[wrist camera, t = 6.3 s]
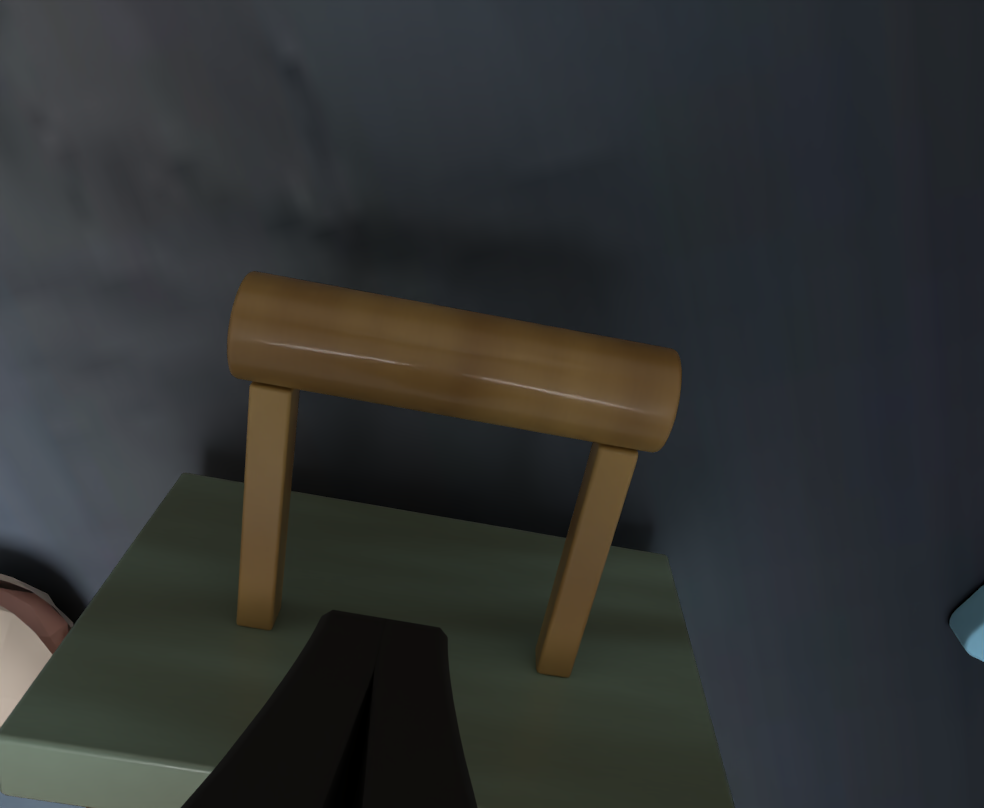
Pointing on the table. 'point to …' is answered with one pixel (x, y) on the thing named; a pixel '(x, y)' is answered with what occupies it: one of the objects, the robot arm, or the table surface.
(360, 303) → the drawer
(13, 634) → the beige pebble
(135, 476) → the table surface
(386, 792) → the robot arm
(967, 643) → the chair
